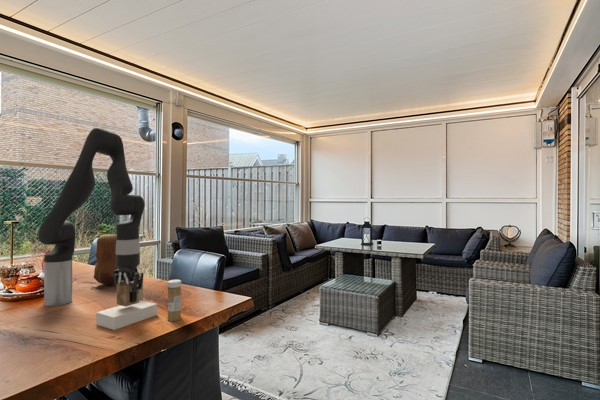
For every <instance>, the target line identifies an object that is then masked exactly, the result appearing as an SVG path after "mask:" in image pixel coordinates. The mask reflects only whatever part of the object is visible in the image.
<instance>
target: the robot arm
mask: <svg viewBox="0 0 600 400" xmlns="http://www.w3.org/2000/svg"><path fill="white" fill-rule="evenodd" d="M96 154H102V155H104V156H109V158H110V159H111V161H112V162H111V165H110V166H109V167H108V169H107V171H106V179H107V182H108V186H109V188H110V208H109V209H110V211H111V212H112V213H113V214H114V215H116V216H130V217H129V219H128V220H126V221H125V220H124V221H122V222H118V223H117V225H116V231H115V232H116V234H115V235H116V239H117V240H116V267H119V269H118V270H114V271H113V276H114V283H115V285H114V287H115V288H117V284H121V283H127V285H129V290H130V303H133V302H136V301H137V290H140V289H141V288H142V281H143V282H144V272H139V271H138V266H139V265H140V263H141V247H140V246H141V245H140V244H141V243H140V224H141V220H142V218H143V217H142V216H143V214H144V210H145V206H146V205H145V200H144V198H143V197H142V196H141V195H138V194H131V193H132V192H133V190H134V187H133V183H132V180H131V178H130V175H129V173H128V170H127V163H126V155H125V149H124V143H123V140H122V136H120V135H119V134H117V133H115V132H111V131H110V130H106V129H104V128H101V127H94V128H92V129H90V131H89V133H88V134H87V137H86V139H85V141H84V143H83V147H82V148H81V151H80V154H79V156H78V159H77V161H76V163H75V166H74V167H73V169H72V171H71V173H70V174H69V177H68V178H67V180H66V182H65V183H64V186H63V188H62V190H61V192H60V194H59V196H58V198H57V200H56V201H55V203H54V205H53V207H52V209H51V210H50V212H49V213H48V215H47V216H46V217H45V219H44V220H43V222H42V224H41V225H40V227H39V230H38V235H37V236H38V240H39V242H40V243H41V244H42V245H47V246H50V245H51V246H52V245H54V247H53V248H52V250H50V251H48V252H46V254H44V256H43V289H44V290H43V298H44V299H43V306H45V307H58V306H65V305H68V304H70V303H72V302H73V255H74V253H75V248H76V247H75V246H76V245H75V244H76V228H75V225H74V224H73V222H72V221H69V220H68V218H69V217H70V216H71V215H72V214H73V213H74V212H75V211H77V210H78V209H79V208H80V207H82V206H83V205H84V204H85V203H87V202H88V200H89V199H90V196H91V195H92V193H93V192H94V189H95V186H96V178H95V174H94V169H93V161H94V158H95V156H96ZM117 280H118V281H117ZM132 281H134V282H132ZM132 284H133V288H132ZM137 284H139V285H138V286H137Z"/></svg>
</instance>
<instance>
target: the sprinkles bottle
mask: <svg viewBox="0 0 600 400" xmlns="http://www.w3.org/2000/svg"><path fill="white" fill-rule="evenodd" d="M166 283H167V285H166V287H167V318H166V320H167V321H170V322H176V321H179V320H182V316H181V314H182V313H181V309H182V291H181V290H182V280H181V279H170V280H168V281H167V282H166Z"/></svg>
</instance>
